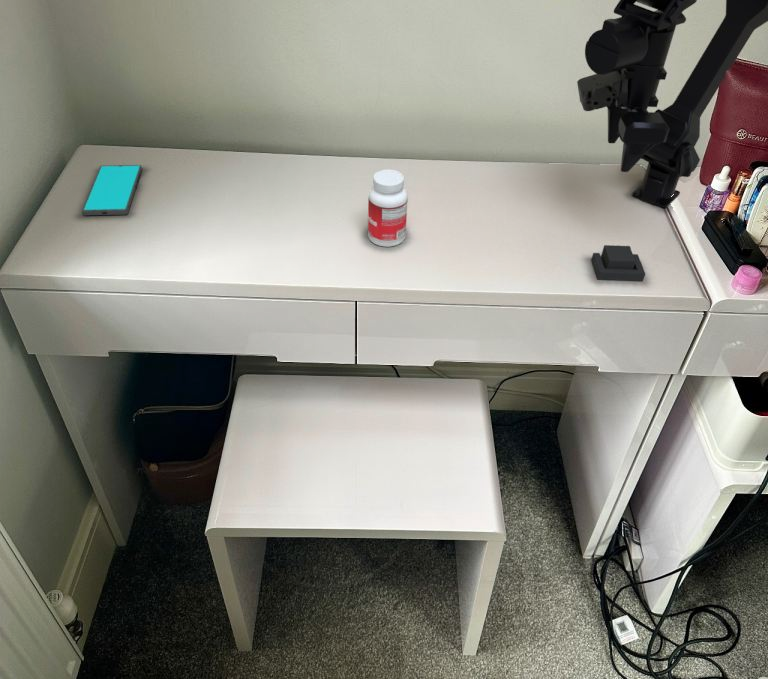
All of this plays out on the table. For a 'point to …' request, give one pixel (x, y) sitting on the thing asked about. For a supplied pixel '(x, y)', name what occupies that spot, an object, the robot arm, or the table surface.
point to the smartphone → (112, 190)
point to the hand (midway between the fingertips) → (617, 156)
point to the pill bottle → (387, 208)
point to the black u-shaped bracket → (617, 270)
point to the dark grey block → (617, 257)
